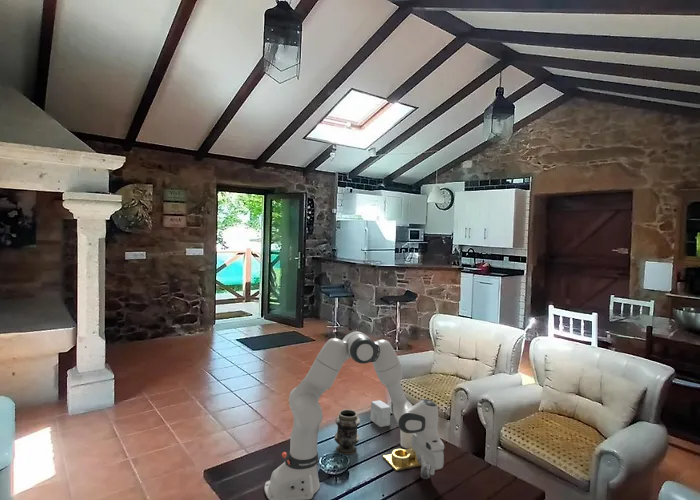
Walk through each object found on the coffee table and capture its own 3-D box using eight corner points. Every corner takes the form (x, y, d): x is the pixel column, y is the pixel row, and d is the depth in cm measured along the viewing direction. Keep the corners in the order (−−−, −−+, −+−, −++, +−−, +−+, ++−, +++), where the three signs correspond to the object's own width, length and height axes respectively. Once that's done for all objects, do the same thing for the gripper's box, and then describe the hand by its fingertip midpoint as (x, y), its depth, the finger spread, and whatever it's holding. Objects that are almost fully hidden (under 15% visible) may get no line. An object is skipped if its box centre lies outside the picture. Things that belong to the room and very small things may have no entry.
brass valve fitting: (395, 471, 195) (396, 454, 194) (382, 457, 206) (383, 441, 205) (428, 463, 202) (429, 447, 202) (414, 451, 213) (415, 435, 212)
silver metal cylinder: (423, 479, 189) (424, 457, 188) (418, 474, 193) (419, 452, 192) (431, 478, 191) (432, 455, 190) (426, 473, 194) (427, 451, 194)
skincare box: (390, 425, 239) (391, 406, 239) (380, 427, 236) (381, 408, 236) (379, 417, 249) (380, 399, 248) (369, 419, 245) (370, 401, 245)
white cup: (397, 446, 217) (397, 426, 216) (402, 439, 224) (403, 420, 223) (412, 451, 213) (413, 430, 212) (417, 444, 220) (418, 424, 219)
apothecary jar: (358, 456, 206) (360, 419, 205) (333, 455, 206) (334, 417, 205) (358, 443, 218) (360, 408, 217) (334, 442, 218) (335, 407, 217)
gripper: (408, 428, 199) (406, 457, 200) (434, 450, 180) (432, 482, 181) (419, 426, 201) (418, 455, 202) (447, 447, 183) (445, 479, 184)
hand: (425, 468), depth 191 cm, fingers open, 8 cm apart
